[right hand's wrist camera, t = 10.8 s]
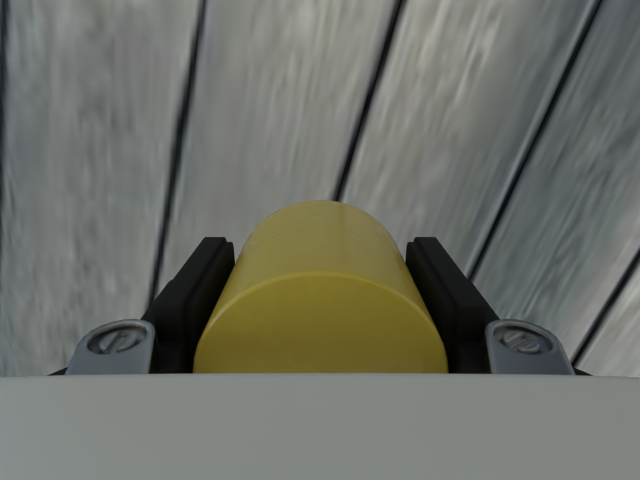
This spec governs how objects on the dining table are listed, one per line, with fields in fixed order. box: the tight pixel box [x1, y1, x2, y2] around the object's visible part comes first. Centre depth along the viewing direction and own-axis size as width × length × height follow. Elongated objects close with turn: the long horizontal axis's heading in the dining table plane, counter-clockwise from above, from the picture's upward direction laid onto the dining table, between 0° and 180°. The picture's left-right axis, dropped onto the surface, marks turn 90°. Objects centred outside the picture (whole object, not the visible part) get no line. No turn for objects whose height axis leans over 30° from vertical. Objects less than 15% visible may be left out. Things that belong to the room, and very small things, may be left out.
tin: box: [193, 200, 449, 374], centre depth 10 cm, size 5×5×5 cm
